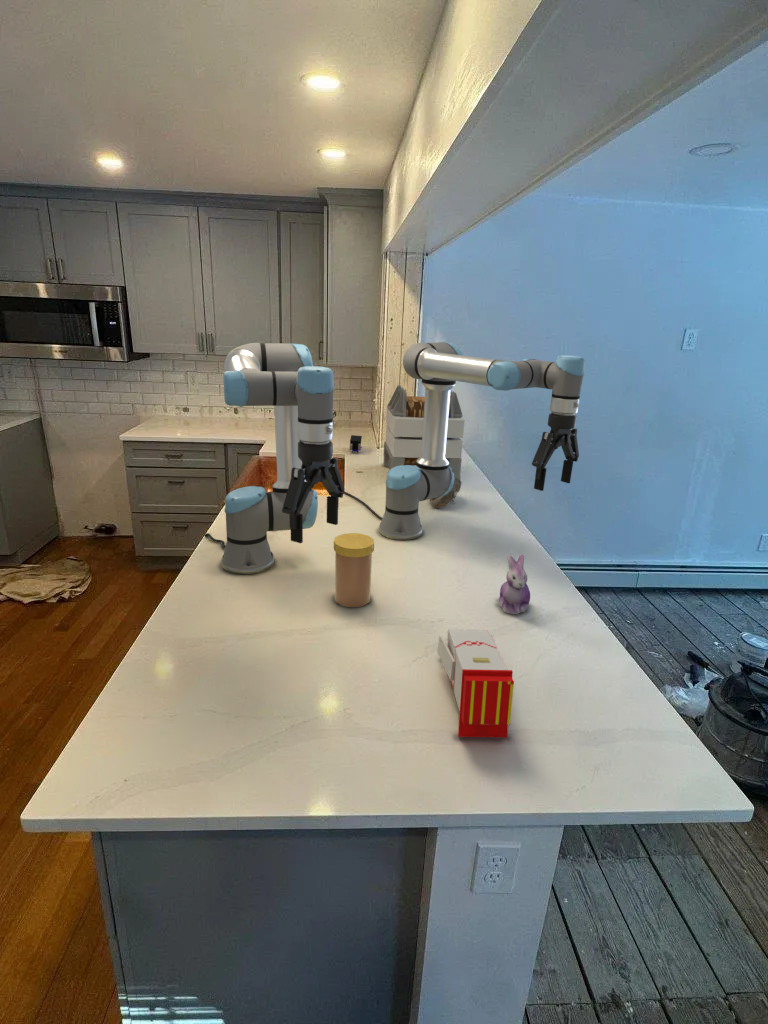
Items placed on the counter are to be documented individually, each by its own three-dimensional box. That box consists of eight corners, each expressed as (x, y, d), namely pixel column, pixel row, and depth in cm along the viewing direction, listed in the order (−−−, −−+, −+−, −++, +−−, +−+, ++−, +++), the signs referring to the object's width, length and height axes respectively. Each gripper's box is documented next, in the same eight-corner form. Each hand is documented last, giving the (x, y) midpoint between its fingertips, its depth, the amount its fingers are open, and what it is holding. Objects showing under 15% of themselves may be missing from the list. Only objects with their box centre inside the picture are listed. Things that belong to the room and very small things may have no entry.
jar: (340, 609, 149) (341, 551, 143) (331, 592, 157) (331, 537, 151) (374, 604, 152) (377, 547, 146) (364, 588, 160) (366, 533, 154)
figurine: (512, 619, 147) (519, 566, 142) (488, 601, 156) (494, 551, 151) (540, 611, 151) (548, 560, 146) (515, 594, 160) (522, 546, 155)
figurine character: (361, 456, 305) (361, 447, 319) (361, 443, 302) (362, 434, 315) (348, 456, 305) (350, 446, 318) (349, 442, 302) (350, 433, 315)
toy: (488, 613, 130) (523, 677, 101) (484, 667, 133) (517, 744, 104) (435, 612, 130) (455, 676, 101) (432, 666, 133) (451, 743, 103)
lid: (339, 559, 143) (339, 550, 142) (329, 543, 152) (329, 534, 152) (379, 555, 146) (379, 546, 146) (366, 539, 156) (367, 531, 155)
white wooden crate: (382, 463, 289) (386, 382, 275) (445, 464, 293) (451, 384, 279) (390, 482, 257) (394, 392, 243) (460, 483, 261) (468, 394, 247)
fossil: (425, 482, 245) (454, 464, 240) (438, 499, 248) (467, 481, 243) (424, 504, 225) (455, 484, 220) (438, 522, 228) (469, 503, 223)
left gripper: (292, 454, 110) (294, 554, 117) (360, 433, 131) (358, 519, 138) (263, 448, 114) (266, 545, 121) (333, 429, 134) (332, 513, 141)
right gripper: (548, 419, 148) (537, 496, 155) (598, 411, 163) (586, 482, 171) (525, 414, 153) (515, 489, 160) (575, 407, 169) (564, 476, 176)
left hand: (315, 532), depth 129 cm, fingers open, 13 cm apart
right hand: (552, 485), depth 166 cm, fingers open, 13 cm apart
